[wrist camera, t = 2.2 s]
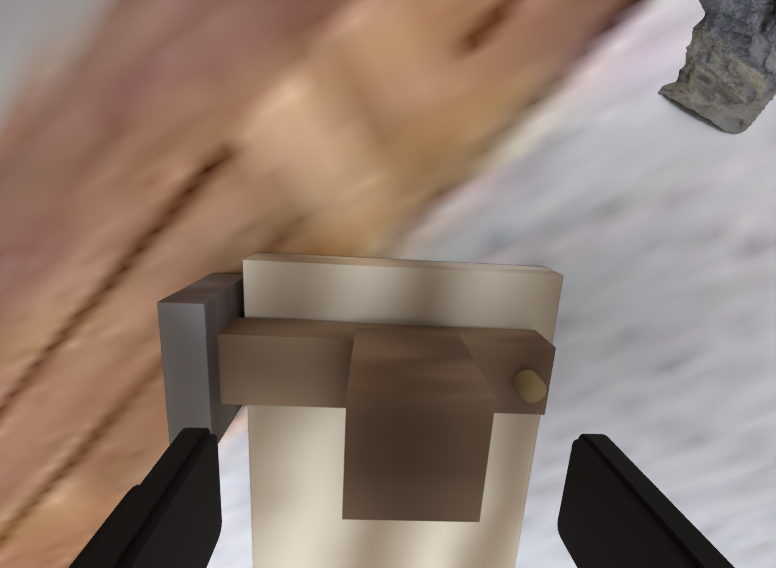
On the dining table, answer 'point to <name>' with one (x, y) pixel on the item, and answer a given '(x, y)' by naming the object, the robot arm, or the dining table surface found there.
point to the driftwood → (729, 63)
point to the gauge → (358, 392)
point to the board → (327, 425)
